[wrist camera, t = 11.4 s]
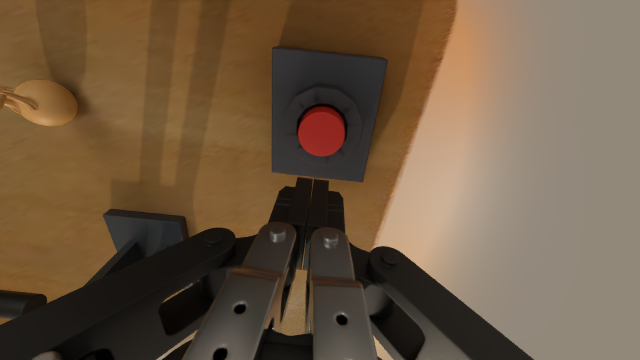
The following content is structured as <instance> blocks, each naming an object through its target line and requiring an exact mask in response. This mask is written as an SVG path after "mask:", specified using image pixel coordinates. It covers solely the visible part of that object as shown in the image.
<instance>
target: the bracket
mask: <svg viewBox="0 0 640 360" xmlns="http://www.w3.org/2000/svg"><path fill="white" fill-rule="evenodd" d="M103 217H104V219H105V222H106V224H107V227H108V229H109V232H110V234H111V237H112V239H113V242H114V245H115V247H116V250H117V253H116V254H115V255H114V256H113V257H112V258H111V259H110V260H109V261H108V262H107V263H106V264H105V265H104V266H103V267H102V268H101V269H100V270H99V271H98V272H97V273H96V274H95V275H94V276H93V277H92V278H91V279H90V280H89V281H88V282H87V283H86V284H85V285H84V286H86V285H88V284H90V283H92V282H94V281H97V280H99V279H101V278H103V277H105V276H107V275H110V274H112V273H114V272H116V271H118V270H120V269H123V268H125V267H127V266H129V265H131V264H133V263H135V262H138V261H140V260H142V259H144V258H146V257H148V256H151V255H153V254H155V253H157V252H159V251H161V250H164V249H166V248H168V247H170V246H172V245H174V244H177V243H179V242H181V241H183V240H185V239H187V238H189V237H188V232H187V227H186V222H185V217H181V216H172V215H162V214H153V213H143V212H134V211H124V210H115V209H110V210H108V211H107V212H106V213H105V214H103ZM195 283H197V281H195V282H193V283H192V284H190V285H188V286H186V287H185V288H183V289H187V288H189V287H190V286H192V285H194V284H195ZM84 286H83V287H84Z"/></svg>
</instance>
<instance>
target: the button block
mask: <svg viewBox="0 0 640 360" xmlns="http://www.w3.org/2000/svg"><path fill="white" fill-rule="evenodd" d="M387 62H388V61H387V60H386V59H384V58H380V57H371V56H362V55H353V54H344V53H335V52H326V51H317V50H307V49H298V48H289V47H280V46H277V47H273V48H272V173H281V174H290V175H300V176H309V177H318V178H328V179H337V180H346V181H356V182H363V179H364V174H365V169H366V164H367V159H368V154H369V149H370V145H371V140H372V135H373V130H374V125H375V120H376V115H377V110H378V106H379V101H380V96H381V91H382V86H383V81H384V76H385V71H386V66H387ZM319 106H325V107H329V108H332V109H334V110H335V111H337V112H338V113H339V115H340V116H341V117H342V119H343V122H344V129H345V138H344V142H343V144H342V146H341V147H340V148H339V150H337V151H336V152H335V153H333V154H331V155H328V156H316V155H313V154H311V153H309V152H307V151H306V150H305V149H304V148H303V147H302V145H301V143H300V141H299V137H298V131H299V126H300V124H301V121H302V119H303V117H304V115H305V114H306V113H307V112H308V111H309V110H311V109H312V108H315V107H319Z"/></svg>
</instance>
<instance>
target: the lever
mask: <svg viewBox="0 0 640 360" xmlns="http://www.w3.org/2000/svg"><path fill="white" fill-rule="evenodd" d="M45 304H47V298H46V296H45V295H43V294H36V293H26V292H16V291H7V290H0V318H8V319H15V318H17V317H19V316H21V315H23V314H25V313H27V312H30V311H32V310H34V309H36V308H38V307H40V306H43V305H45Z"/></svg>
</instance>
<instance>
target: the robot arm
mask: <svg viewBox="0 0 640 360" xmlns="http://www.w3.org/2000/svg"><path fill="white" fill-rule="evenodd" d="M312 181H313V179H308V178H299V177H298V178H297V182H296V186H295V187H289V186H285V187H284V188H283V189H282V190H280V191H279V194H278V197H277V199H276V202H275V205H274V208H273V211H272V213H271V216H270V219H269V222H268V224H265V225H264V226H262V227H261V229H260V230H259V232H258V234H256V235H253V236H249V237H242V238H235V235H234V233H233V232H232V231H231V230H229V229H226V228H211V229H207V230H205V231H202V232H200V233H198V234H196V235H194V236H192V237H189V238H187V239H185V240H183V241H181V242H179V243H177V244H174V245H172V246H170V247H168V248H166V249H164V250H161V251H159V252H157V253H155V254H153V255H151V256H148V257H146V258H144V259H142V260H140V261H138V262H135V263H133V264H131V265H129V266H127V267H125V268H123V269H120V270H118V271H116V272H114V273H112V274H110V275H107V276H105V277H103V278H101V279H99V280H97V281H94V282H92V283H90V284H88V285H86V286H84V287H81V288H79V289H77V290H75V291H73V292H71V293H69V294H66V295H64V296H62V297H60V298H58V299H56V300H53V301H51V302H49V303H47V304H45V305H43V306H40V307H38V308H36V309H34V310H32V311H30V312H27V313H25V314H23V315H21V316H19V317H17V318H15V319H12V320H10V321H8V322H6V323H4V324H2V325H0V360H156V359H157V358H159V357H160V356H162V355H163V354H164V353H166V352H167V351H168V350H170V349H171V348H173V347H174V346H175V345H177V344H178V343H180V342H181V341H182V340H184V339H185V338H186V337H188V336H189V335H191V334H192V333H193V332H195V331H196V330H197V329H198V331H197V332H196V334H195V336H194V338H193V339H192V340H190V341H188V342H186V343H184V344H183V345H181V346H180V347H178V348H177V349H175V350H174V351H172V352H171V353H170V354H169V355H167V356H166V357H165V358H163V359H162V360H382V359H381V358H379V357H378V356H377V352H376V347H375V342H374V338H373V335H374V336H375V338H376V339H377V340H378V341H379V343H380V344H381V345H382V346H383V347H384V349H385V350H386V351H387V352H388V353H389V354H390V356H391V357H392V358H393V359H394V360H534V359H532V358H531V357H530V356H529V355H528V354H526V353H525V352H524V351H523V350H521V349H520V348H519V347H518V346H516V345H515V344H514V343H513V342H511V341H510V340H509V339H508V338H506V337H505V336H504V335H503V334H502V333H500V332H499V331H498V330H497V329H495V328H494V327H493V326H492V325H490V324H489V323H488V322H487V321H485V320H484V319H483V318H482V317H480V316H479V315H478V314H477V313H475V312H474V311H473V310H472V309H470V308H469V307H468V306H467V305H466V304H464V303H463V302H462V301H461V300H459V299H458V298H457V297H456V296H454V295H453V294H452V293H451V292H450V291H448V290H447V289H446V288H445V287H443V286H442V285H441V284H440V283H438V282H437V281H436V280H435V279H433V278H432V277H431V276H430V275H428V274H427V273H426V272H425V271H423V270H422V269H421V268H420V267H419V266H417V265H416V264H415V263H414V262H412V261H411V260H410V259H408V258H407V257H406V256H405V255H404V254H402V253H401V252H400V251H398V250H396V249H394V248H391V247H385V246H381V247H376V248H374V249H373V250H372V251H371V252H367V251H364V250H361V249H359V248H357V247H355V246H354V245H352V244H351V243H350V242H349V240H348V237H347V236H346V234H345V221H344V207H343V206H344V204H343V198H342V196H341V195H340V193H339V192H334V191H328V187H329V181H326V180H317V179H314V182H313V189H312ZM311 191H312V197H311ZM310 201H311V204H310ZM306 233H307V235H306ZM305 240H306V245H305ZM304 247H305V255H304V265H303V270H308V271H307V281H306V293H305V333H304V334H301V335H295V336H287V335H284V334H282V333H281V329H282V325H283V321H284V317H285V313H286V309H287V306H288V302H289V298H290V294H291V290H292V286H293V281H294V278H295V273H296V269H298V270H301V269H302V261H303V254H304ZM198 279H199V282H197V283H195V284H194V285H192V286H190V287H189V288H187V289H185V290H184V291H182V292H180V293H179V294H177V295H175V296H174V297H172V298H170V299H169V300H167V301H165V302H163V301H164V300H165V299H167V298H168V297H170V296H171V295H173V294H175V293H176V292H178V291H180V290H181V289H183V288H185V287H186V286H188V285H190V284H192V283H193V282H195V281H197V280H198ZM162 302H163V303H162Z"/></svg>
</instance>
